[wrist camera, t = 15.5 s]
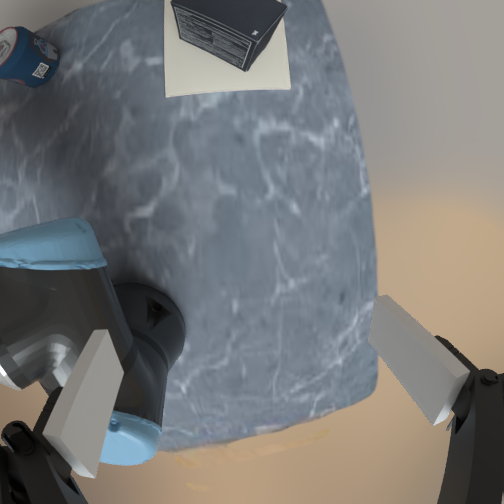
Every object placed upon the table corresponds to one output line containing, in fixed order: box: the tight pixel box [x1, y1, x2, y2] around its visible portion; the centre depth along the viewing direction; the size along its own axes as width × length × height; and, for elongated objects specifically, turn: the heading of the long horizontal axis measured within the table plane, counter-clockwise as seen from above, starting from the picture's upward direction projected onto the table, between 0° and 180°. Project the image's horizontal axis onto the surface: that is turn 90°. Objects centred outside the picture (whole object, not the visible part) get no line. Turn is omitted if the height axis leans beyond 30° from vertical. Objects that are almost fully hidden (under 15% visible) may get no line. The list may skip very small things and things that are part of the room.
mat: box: [164, 0, 291, 98], centre depth 30 cm, size 16×16×1 cm
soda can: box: [0, 26, 59, 87], centre depth 21 cm, size 7×7×12 cm
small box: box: [170, 0, 288, 72], centre depth 25 cm, size 11×6×10 cm, turn 58°
